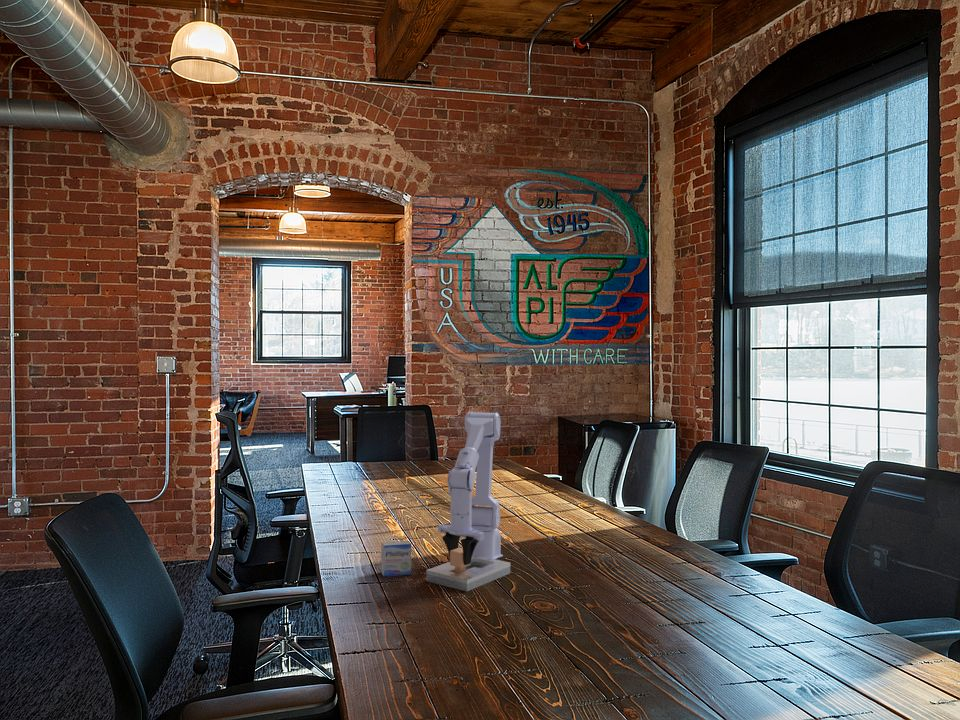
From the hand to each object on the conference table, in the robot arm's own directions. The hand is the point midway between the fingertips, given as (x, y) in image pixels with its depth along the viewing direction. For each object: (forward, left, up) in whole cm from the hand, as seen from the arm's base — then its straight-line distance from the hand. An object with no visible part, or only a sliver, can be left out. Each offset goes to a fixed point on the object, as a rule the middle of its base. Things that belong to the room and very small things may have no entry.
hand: (460, 562), depth 204 cm
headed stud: (0, 0, -5) cm, 5 cm away
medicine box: (+6, -18, -5) cm, 20 cm away
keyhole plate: (-4, 0, -5) cm, 6 cm away
